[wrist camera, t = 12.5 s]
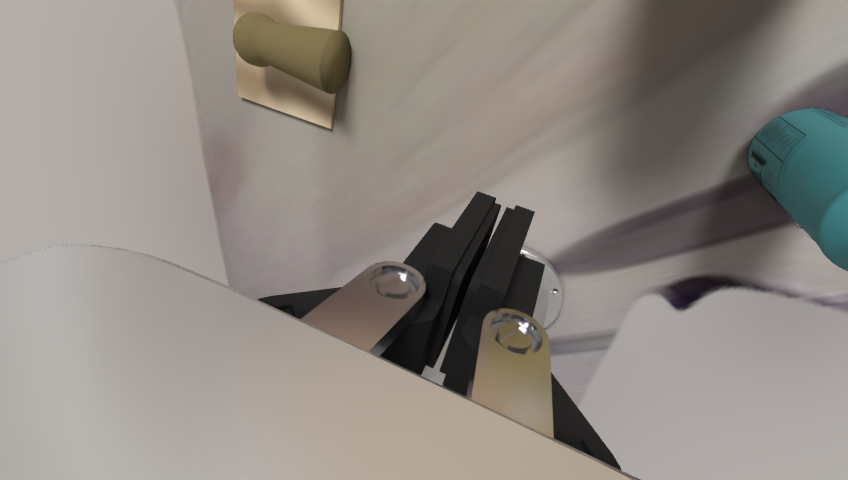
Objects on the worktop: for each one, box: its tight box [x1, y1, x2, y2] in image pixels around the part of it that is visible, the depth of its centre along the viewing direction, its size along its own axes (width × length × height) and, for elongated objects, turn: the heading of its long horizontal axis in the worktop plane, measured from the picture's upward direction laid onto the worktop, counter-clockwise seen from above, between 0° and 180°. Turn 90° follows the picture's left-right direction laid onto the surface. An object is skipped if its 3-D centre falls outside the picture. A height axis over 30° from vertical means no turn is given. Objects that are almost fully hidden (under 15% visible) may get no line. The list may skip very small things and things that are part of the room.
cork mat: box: [233, 0, 343, 129], centre depth 44 cm, size 18×13×1 cm
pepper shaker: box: [233, 12, 351, 94], centre depth 42 cm, size 6×6×11 cm
